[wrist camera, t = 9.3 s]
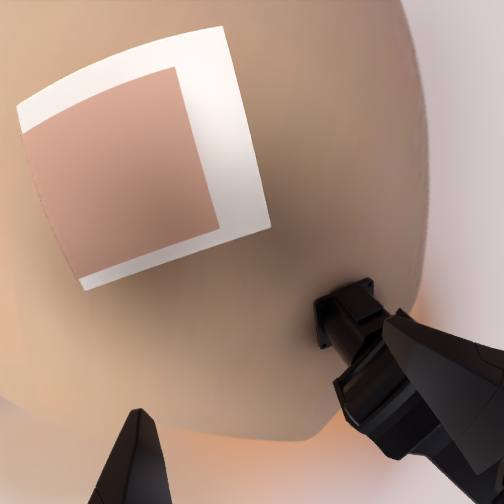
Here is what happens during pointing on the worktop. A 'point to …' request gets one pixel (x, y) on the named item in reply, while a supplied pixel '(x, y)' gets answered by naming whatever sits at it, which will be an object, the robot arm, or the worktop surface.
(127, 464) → the robot arm
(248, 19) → the worktop surface
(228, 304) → the worktop surface
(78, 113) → the stool
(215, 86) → the white board
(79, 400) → the worktop surface
